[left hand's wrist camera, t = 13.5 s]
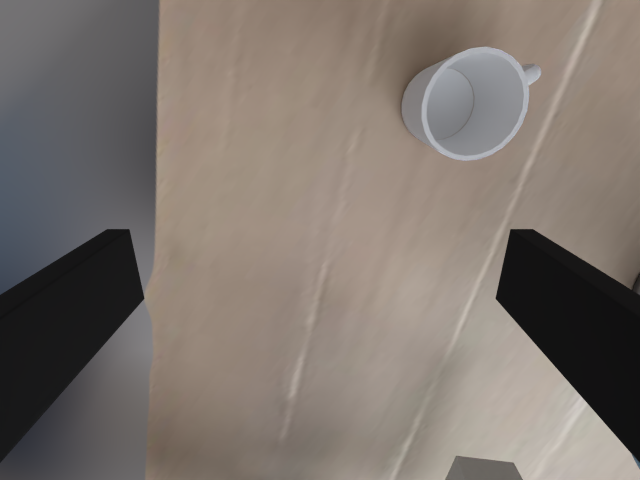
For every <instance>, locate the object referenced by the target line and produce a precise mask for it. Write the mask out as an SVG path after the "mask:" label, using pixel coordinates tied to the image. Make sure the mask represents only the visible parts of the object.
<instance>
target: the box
mask: <svg viewBox="0 0 640 480" xmlns="http://www.w3.org/2000/svg"><path fill="white" fill-rule="evenodd" d="M445 480H523V479H522V477H521V476H520V474H519V472H518V470H517V468H516V466H515V464H514V463H512V462H503V461H495V460H487V459H478V458H470V457H462V456H456V457H455V460H454V462H453V464H452V466H451V468H450V470H449V473H448V475H447V477H446V479H445Z"/></svg>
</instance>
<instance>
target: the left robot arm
mask: <svg viewBox="0 0 640 480" xmlns="http://www.w3.org/2000/svg"><path fill="white" fill-rule="evenodd" d="M143 300H144V295H143V290H142V285H141V281H140V276H139V272H138V267H137V263H136V258H135V253H134V248H133V244H132V239H131V235H130V230H129V229H107V230H105V231H104V232H102V233H100V234H99V235H97V236H95V237H94V238H92V239H91V240H89V241H87V242H86V243H84V244H82V245H81V246H79V247H77V248H76V249H74V250H73V251H71V252H69V253H68V254H66V255H64V256H63V257H61V258H60V259H58V260H56V261H55V262H53V263H51V264H50V265H48V266H47V267H45V268H43V269H42V270H40V271H39V272H37V273H35V274H34V275H32V276H30V277H29V278H27V279H25V280H24V281H22V282H21V283H19V284H17V285H16V286H14V287H12V288H11V289H9V290H8V291H6V292H4V293H3V294H1V295H0V462H1V461H2V460H3V459H4V458H5V457H6V456H7V454H8V453H9V452H10V451H11V450H12V449H13V448H14V447H15V445H16V444H17V443H18V442H19V441H20V440H21V439H22V437H23V436H24V435H25V434H26V433H27V432H28V431H29V429H30V428H31V427H32V426H33V425H34V424H35V423H36V421H37V420H38V419H39V418H40V417H41V416H42V415H43V413H44V412H45V411H46V410H47V409H48V408H49V407H50V405H51V404H52V403H53V402H54V401H55V400H56V399H57V397H58V396H59V395H60V394H61V393H62V392H63V391H64V389H65V388H66V387H67V386H68V385H69V384H70V383H71V382H72V380H73V379H74V378H75V377H76V376H77V375H78V374H79V372H80V371H81V370H82V369H83V368H84V367H85V366H86V364H87V363H88V362H89V361H90V360H91V359H92V358H93V357H94V355H95V354H96V353H97V352H98V351H99V350H100V349H101V347H102V346H103V345H104V344H105V343H106V342H107V341H108V339H109V338H110V337H111V336H112V335H113V334H114V333H115V331H116V330H117V329H118V328H119V327H120V326H121V325H122V323H123V322H124V321H125V320H126V319H127V318H128V317H129V315H130V314H131V313H132V312H133V311H134V310H135V309H136V308H137V306H138V305H139V304H140V303H141V302H142V301H143ZM496 300H497V301H498V302H499V303H500V304H501V305H502V306H503V308H504V309H505V310H506V311H507V312H508V313H509V314H510V315H511V317H512V318H513V319H514V320H515V321H516V322H517V323H518V325H519V326H520V327H521V328H522V329H523V330H524V331H525V333H526V334H527V335H528V336H529V337H530V338H531V339H532V341H533V342H534V343H535V344H536V345H537V346H538V347H539V349H540V350H541V351H542V352H543V353H544V354H545V355H546V357H547V358H548V359H549V360H550V361H551V362H552V363H553V364H554V366H555V367H556V368H557V369H558V370H559V371H560V372H561V374H562V375H563V376H564V377H565V378H566V379H567V380H568V382H569V383H570V384H571V385H572V386H573V387H574V388H575V390H576V391H577V392H578V393H579V394H580V395H581V396H582V398H583V399H584V400H585V401H586V402H587V403H588V404H589V405H590V407H591V408H592V409H593V410H594V411H595V412H596V413H597V415H598V416H599V417H600V418H601V419H602V420H603V421H604V423H605V424H606V425H607V426H608V427H609V428H610V429H611V431H612V432H613V433H614V434H615V435H616V436H617V437H618V439H619V440H620V441H621V442H622V443H623V444H624V445H625V447H626V448H627V449H628V450H629V451H630V452H631V453H632V456H633V458H634V460H635V462H636V464H637V465H638V467H639V469H640V275H639V277H638V279H637V281H636V283H635V285H634V288H633V291H632V290H631V289H629V288H628V287H626V286H624V285H623V284H621V283H619V282H618V281H616V280H615V279H613V278H611V277H610V276H608V275H606V274H605V273H603V272H602V271H600V270H598V269H597V268H595V267H593V266H592V265H590V264H589V263H587V262H585V261H584V260H582V259H580V258H579V257H577V256H576V255H574V254H572V253H571V252H569V251H567V250H566V249H564V248H563V247H561V246H559V245H558V244H556V243H554V242H553V241H551V240H549V239H548V238H546V237H545V236H543V235H541V234H540V233H538V232H536V231H535V230H533V229H511V230H510V235H509V239H508V244H507V248H506V253H505V258H504V262H503V267H502V272H501V276H500V281H499V285H498V290H497V295H496Z"/></svg>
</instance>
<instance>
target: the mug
mask: <svg viewBox="0 0 640 480" xmlns="http://www.w3.org/2000/svg"><path fill="white" fill-rule="evenodd" d="M540 75H541V69H540V67H539V66H538V65H535V64H528V65H524V66H521V65H520V64H519V63H518V62H517V61H516V60H515V59H514V58H513V56H511V55H509V54H507V53H506V52H504V51H502V50H500V49H495V48H490V47H478V48H470V49H468V50H465V51H463V52H460V53H458V54H455V55H453V56H451V57H449V58H447V59H445V60H443V61H440V62H438V63H436V64H434V65H432V66H430V67H428V68H426V69H424V70H422V71H421V72H420V73H418V74H417V75H415V77H414V78H413V79H412V80H411V81H410V83H409V84H408V86H407V88H406V90H405V92H404V94H403V98H402V102H401V114H402V118H403V122H404V124H405V126H406V127H407V129H408V131H409V132H410V133H411V134H412V135H413V136H415V137H416V138H418V139H419V140H421V141H422V142H424V143H425V144H427V145H429V146H430V147H432V148H433V149H435V150H436V151H438V152H440V153H442V154H444V155H446V156H448V157H450V158H452V159H457V160H463V161H468V160H478V159H481V158H484V157H487V156H489V155H492V154H493V153H495V152H496V151H498V150H500V149H501V148H503V147H504V146H505V145H506V144H507V143H508V142H509V141H510V140H511V139H512V138H513V137H514V136H515V134H516V133H517V131H518V129H519V128H520V126H521V125H522V123H523V120H524V117H525V115H526V112H527V109H528V101H529V88H528V85H530V84H532V83H533V82H535V81H536V80H537V79H538V78H539V77H540Z"/></svg>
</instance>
